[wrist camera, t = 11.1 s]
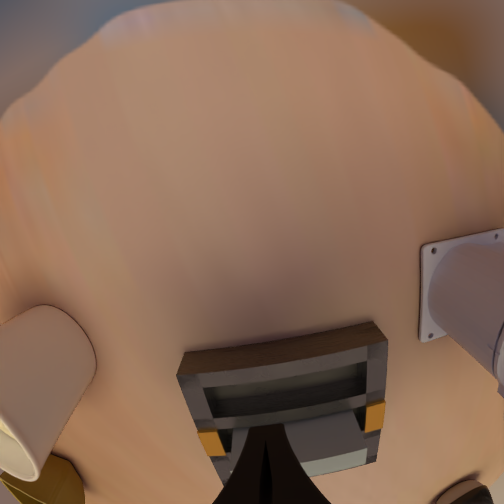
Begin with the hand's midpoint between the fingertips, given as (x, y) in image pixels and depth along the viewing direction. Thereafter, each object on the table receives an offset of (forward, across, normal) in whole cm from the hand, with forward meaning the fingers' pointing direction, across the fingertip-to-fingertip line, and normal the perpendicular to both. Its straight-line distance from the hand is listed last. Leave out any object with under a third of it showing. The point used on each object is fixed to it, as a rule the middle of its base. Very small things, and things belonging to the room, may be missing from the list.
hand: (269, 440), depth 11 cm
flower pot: (+11, +30, +19) cm, 37 cm away
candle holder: (+11, +18, 0) cm, 21 cm away
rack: (+10, -1, +8) cm, 13 cm away
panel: (+10, -1, +8) cm, 13 cm away
